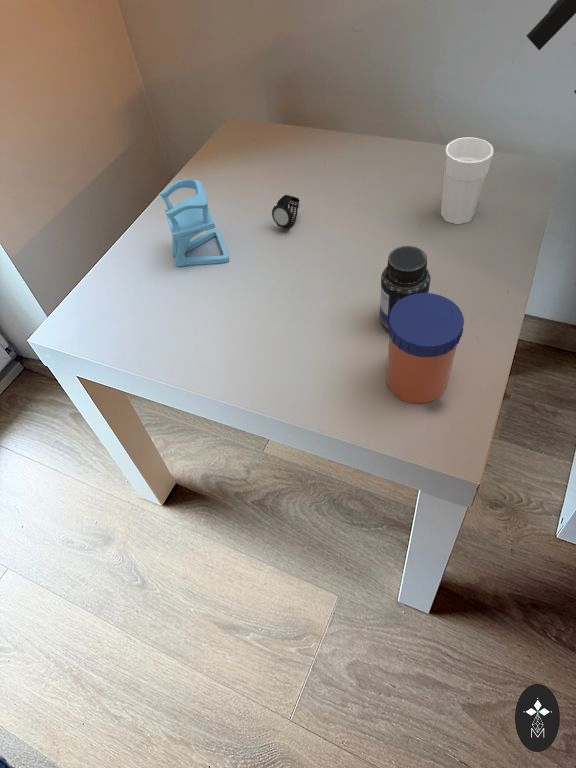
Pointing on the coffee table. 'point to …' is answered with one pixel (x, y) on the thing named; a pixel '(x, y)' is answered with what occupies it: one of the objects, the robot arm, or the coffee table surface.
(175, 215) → the chair
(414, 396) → the jar
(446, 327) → the jar lid
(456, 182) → the cup
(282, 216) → the smartwatch
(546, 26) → the robot arm
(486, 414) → the coffee table surface
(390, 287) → the pill bottle
